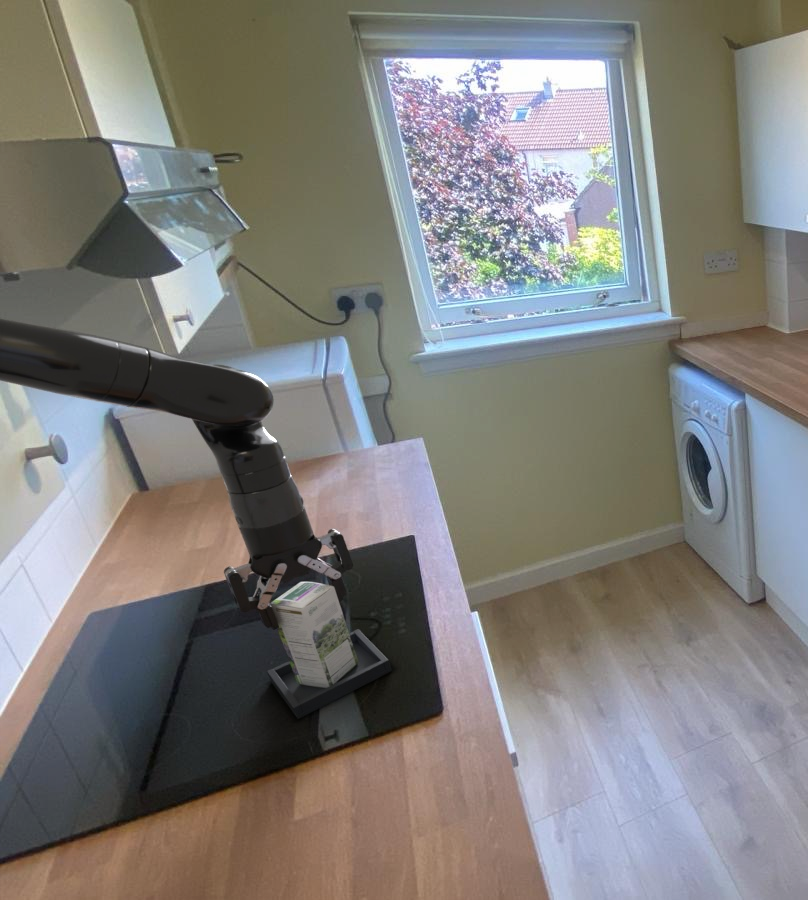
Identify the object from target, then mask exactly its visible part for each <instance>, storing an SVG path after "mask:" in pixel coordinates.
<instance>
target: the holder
mask: <svg viewBox="0 0 808 900" xmlns="http://www.w3.org/2000/svg"><path fill="white" fill-rule="evenodd" d="M349 635H350V638H351V641H352V644H353V647H354V650H355V653H356V656H357V659H358V664H357V665H356V666H355V667H354V668H353V669H352V670H351V671H350V672H348V673H347V674H346V675H345V676H344V677H343V678H342V679H341V680H340V681H338V682H337V683H335V684H333V685H331V686H329V687H327V688H322V687H315V686H308V685H302V684H298V683H297V680H296V678H295V675H294V672H293V670H292V667H291V664H290V661H289V660H288V661H287V662H284V663H282V664H279V665H277V666H275V667H272V668H271V669H269V670H267V671H266V673H267V675H268V677H269V680H270V682H271V684H272V685H273V686H274V688H275V690H276V691H277V693H278V694H279V695H280V697H281V698H282V699H283V701H284V702H285V704H286V705H287V707H289V709H290V710H291V712H292V713H293V714H294V716H295V717H296V719H297V720H300V719H302V718H304V717H306V716H308V715H309V714H311V713H314V712H315V711H317V710H319V709H321V708H323V707H325V706H327V705H329V704H331V703H333V702H334V701H337V700H339V699H341V698H343V697H345V696H346V695H348V694H351V693H352V692H355V691H357V690H358V689H360V688H361V687H364V686H366V685H367V684H370V683H372V682H373V681H376V680H377V679H379V678H381V677H383V676H385V675H387V674H389V673H391V672H393V669H392V666H391V663H390V660H389V659H388V658H387V657H386V655H384V654H383V652H381V650H379V649H378V647H376V645H375V644H374V643H373V642H372V641H370V640H369V638H367V636H365V634H364V633H363V632H362V631H361V630H360V629H359V628H358V629H355V630H353V631H350V632H349Z"/></svg>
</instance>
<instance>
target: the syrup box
mask: <svg viewBox="0 0 808 900" xmlns="http://www.w3.org/2000/svg"><path fill="white" fill-rule="evenodd" d="M269 604H270V605H271V607H272V609H273V612H274V614H275V617H276V619H277V622H278V625H279V628H277V629H276V630H277V631H278V635H279V638H280V640H281V642H282V645H283V648H284V651H285V653H286V655H287V659H288V661H290V664H291V667H292V670H293V672H294V675H295V678H296V680H297V683H298V684H302V685H308V686H315V687H322V688H327V687H329V686H331V685H333V684H335V683H337V682H338V681H340V680H341V679H342V678H343V677H344V676H345V675H346V674H347V673H348V672H350V671H351V670H352V669H353V668H354V667H355V666H356V665H357V664H358V659H357V656H356V653H355V650H354V647H353V644H352V641H351V638H350V635H349V633H350V631H349V628H348V625H347V622H346V619H345V616H344V613H343V610H342V607H341V604H340V602H339V600H338V597H337V594H336V591H335V588H334V586H330V585H329V584H325V583H320V582H315V581H299V582H298V583H297V584H296V585H294V586H292V587H291V588H290V589H288V590H287V591H285V592H284V593H283V594H281V595H280V596H278V597H277V598H275V599H274V600H272V601H270V602H269Z"/></svg>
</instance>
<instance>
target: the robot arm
mask: <svg viewBox="0 0 808 900" xmlns="http://www.w3.org/2000/svg"><path fill="white" fill-rule="evenodd" d="M0 382H6V383H9V384H13V385H18V386H22V387H27V388H31V389H36V390H39V391H44V392H49V393H53V394H57V395H61V396H62V395H63V396H66V397H71V398H76V399H81V400H86V401H92V402H97V403H102V404H103V403H104V404H110V405H115V406H121V407H126V408H127V407H128V408H133V409H141V410H142V409H143V410H150V411H156V412H162V413H165V414H170V415H174V416H178V417H182V418H186V419H190V420H192V422H193V424H194V426H195V427H196V430H197V431H198V432H199V434H200V435H201V437H202V439H203V441H204V443H205V444H206V446H207V447H208V448H209V450H210V451H211V453H212V455H213V456H214V459H215V461H216V465H217V468H218V471H219V473H220V476H221V478H222V481H223V484H224V487H225V489H226V492H227V495H228V501H229V506H230V509H231V512H232V514H233V516H234V519H235V522H236V524H237V527H238V529H239V532H240V534H241V537H242V539H243V543H244V545H245V548H246V550H247V553H248V555H249V560H248V563H245V564H243V565H239V566H237V567H234V566H226V567H225V568H224V570H223V575H224V577H225V579H226V582H227V585H228V587H229V590H230V593H231V596H232V598H233V601H234V603H235V605H236V606H237V607H238V608H239V610H240V611H241V612H242V613H247V612H249V611H252V610H256V611H257V613H258V616H259V618H260V621H261V623H262V624H263V625H264V626H265V627H266V628H267V629H269V628H271V629H272V630H273V631H274V630H278V629H277V628H279V625H278V622H277V619H276V617H275V614H274V612H273V609H272V607H271V605H270V603H271V600H272V597H273V596H274V595H275V594H276V592H277V589H278V587H279V585H280V583H282V584H285V583H289V582H291V581H293V580H294V579H295V578H299V577H303V576H304V577H305V576H307V575H310V571H312V570H313V571H315V572H317V573H319V574H321V575H325V576H326V577H325V578H326V580H327V584H328V585H330V586H334V588H335V591H336V594H337V597H338V600H339V603H340V602H342V601H344V597H345V596H346V595H347V590H346V589H347V588H346V586H345V584H344V580H343V578H342V576H343V574H344V573H346V572H347V571H350V570H352V569H353V568H354V563H353V560H352V557H351V554H350V551H349V549H348V545H347V543H346V540H345V537H344V535H342V533H340V532H339V531H338V530H337V529H336V528H330V529H329V530H328V531H327V534H324V535H321V536H319V537H317V536H316V535H315V533H314V530H313V527H312V524H311V522H310V519H309V518H310V517H309V516H308V512H307V509H306V507H305V502H304V498H303V496H302V495H301V492H300V490H299V487H298V485H297V483H296V481H295V480H294V478H293V476H292V473H291V471H290V468H289V464H288V462H287V459H286V456H285V452H284V450H283V448H282V446H281V444H280V443H279V441H278V440H277V438H275V437H274V436H273V435H271V434H270V432H268V431H267V430H266V429H265V427H264V423H262V422H263V421H264V420H265V419H266V418H267V417H268V416H269V415H270V414H271V413H272V410H273V407H274V403H275V402H274V395H273V392H272V390H271V388H270V387H269V385H268V384H267V382H265V380H263V379H262V378H260V377H259V376H258V375H256V374H254V373H251V372H248V371H245V370H242V369H238V368H235V367H232V366H228V365H225V364H208V363H203V362H198V361H193V360H188V359H183V358H179V357H177V356H173V355H172V354H169V353H166V352H163V351H159V350H158V349H153V348H149V347H146V346H142V345H138V344H134V343H129V342H125V341H121V340H117V339H113V338H108V337H104V336H100V335H94V334H90V333H85V332H81V331H76V330H70V329H64V328H59V327H53V326H47V325H42V324H36V323H30V322H24V321H19V320H13V319H9V318H8V319H7V318H4V317H0ZM323 546H326V547H327V548H328V549H331V550H333V553H334V555H335V558H336V562H335V563H334V564H330V563H328V562H326V561H324V560H323V559H321V558H319V555H320V553H321V550H322V548H323ZM252 572H253V573H254V574H256V575H258V576H259V578H258V580H257V583H256V589H255V591H254V594H253V596H249V595H248V593H247V591H246V588H245V585H244V584H245V583H247V582H248V580H249V575H250V573H252Z"/></svg>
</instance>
